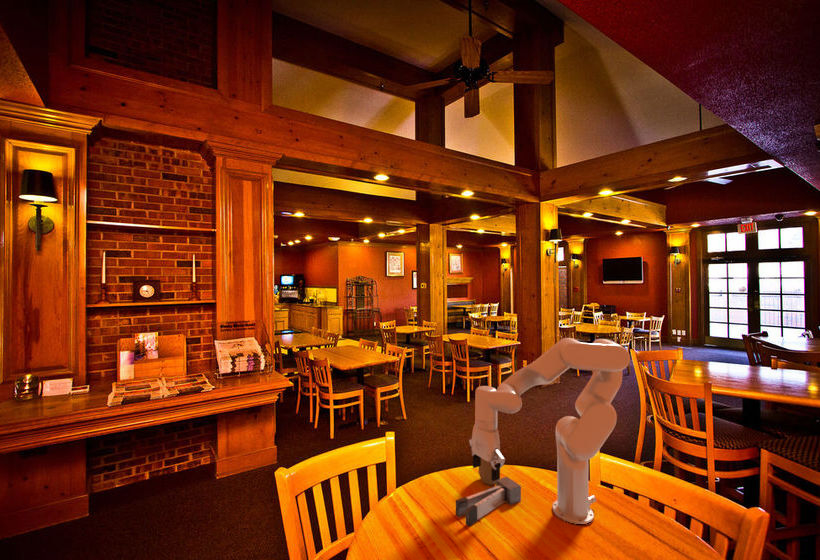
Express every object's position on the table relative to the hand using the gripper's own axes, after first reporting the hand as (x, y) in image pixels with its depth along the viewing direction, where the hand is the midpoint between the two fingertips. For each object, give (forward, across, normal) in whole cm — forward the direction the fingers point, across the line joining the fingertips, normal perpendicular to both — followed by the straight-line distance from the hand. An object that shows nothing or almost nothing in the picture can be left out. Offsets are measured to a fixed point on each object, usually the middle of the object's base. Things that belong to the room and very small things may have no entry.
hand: (485, 473), depth 128 cm
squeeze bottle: (+12, -12, +12) cm, 20 cm away
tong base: (+12, 0, +1) cm, 12 cm away
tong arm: (+11, +3, -2) cm, 12 cm away
